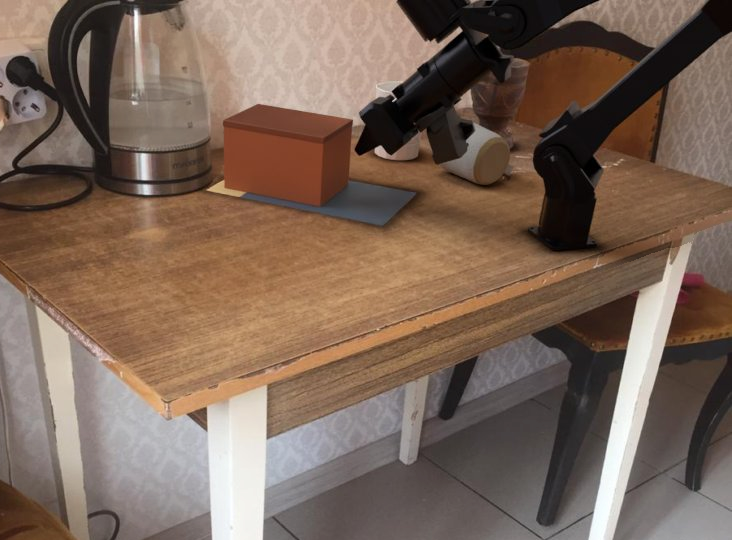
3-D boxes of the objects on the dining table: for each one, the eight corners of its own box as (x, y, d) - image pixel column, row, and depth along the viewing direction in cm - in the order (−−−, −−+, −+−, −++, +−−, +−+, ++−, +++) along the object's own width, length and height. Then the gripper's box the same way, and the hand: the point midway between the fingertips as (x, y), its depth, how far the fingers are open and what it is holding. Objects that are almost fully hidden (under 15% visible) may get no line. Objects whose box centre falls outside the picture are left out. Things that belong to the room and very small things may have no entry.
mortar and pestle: (486, 160, 134) (506, 21, 123) (441, 147, 138) (457, 12, 128) (525, 146, 141) (547, 15, 131) (481, 134, 146) (499, 6, 135)
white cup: (431, 156, 134) (439, 89, 128) (399, 165, 129) (406, 96, 123) (393, 143, 138) (398, 78, 133) (360, 152, 133) (364, 85, 128)
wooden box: (349, 185, 120) (353, 119, 115) (320, 207, 112) (323, 137, 107) (257, 167, 124) (257, 103, 119) (223, 188, 116) (222, 120, 111)
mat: (416, 194, 119) (417, 192, 119) (383, 227, 108) (383, 225, 108) (253, 163, 126) (253, 162, 126) (205, 191, 115) (205, 190, 115)
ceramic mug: (473, 191, 121) (482, 135, 117) (433, 174, 126) (440, 120, 122) (524, 181, 126) (534, 128, 122) (484, 165, 132) (493, 113, 128)
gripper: (470, 149, 97) (371, 225, 106) (506, 112, 111) (416, 182, 120) (409, 66, 95) (313, 151, 104) (455, 40, 110) (367, 116, 119)
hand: (357, 152), depth 112 cm, fingers closed
